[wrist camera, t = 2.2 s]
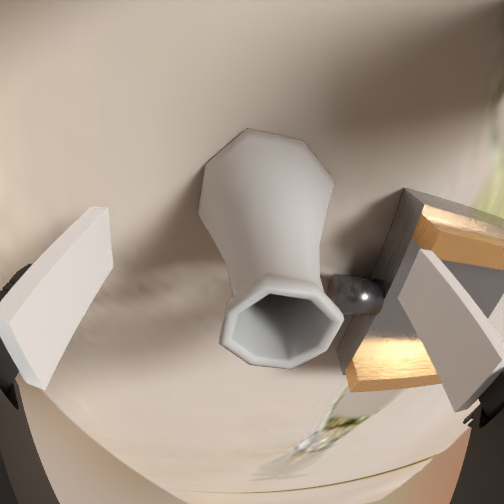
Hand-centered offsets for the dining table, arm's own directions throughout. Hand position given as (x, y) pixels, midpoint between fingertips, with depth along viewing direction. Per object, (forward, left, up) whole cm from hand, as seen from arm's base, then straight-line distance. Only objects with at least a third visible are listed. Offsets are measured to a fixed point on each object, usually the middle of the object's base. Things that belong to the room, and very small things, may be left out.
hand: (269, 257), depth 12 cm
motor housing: (+5, +12, -5) cm, 14 cm away
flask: (0, 0, -6) cm, 6 cm away
